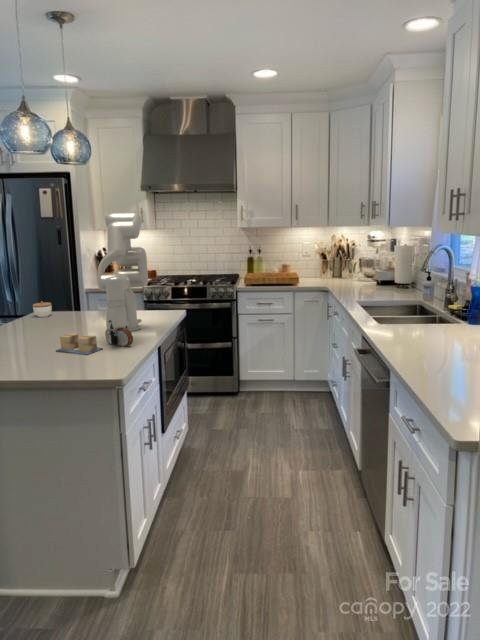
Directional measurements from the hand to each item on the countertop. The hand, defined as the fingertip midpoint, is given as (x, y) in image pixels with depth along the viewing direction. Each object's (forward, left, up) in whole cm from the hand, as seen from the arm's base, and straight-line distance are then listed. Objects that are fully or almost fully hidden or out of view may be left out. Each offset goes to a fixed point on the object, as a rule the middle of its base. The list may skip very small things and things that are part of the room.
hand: (119, 342), depth 228 cm
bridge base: (+13, -12, -2) cm, 18 cm away
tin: (0, 0, -2) cm, 2 cm away
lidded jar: (-43, -89, -2) cm, 99 cm away
